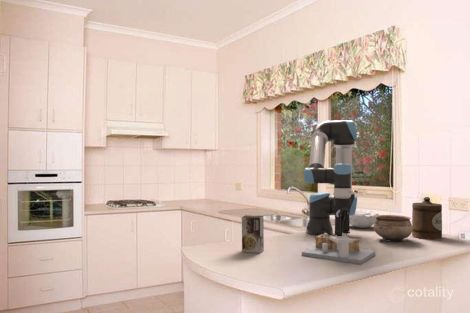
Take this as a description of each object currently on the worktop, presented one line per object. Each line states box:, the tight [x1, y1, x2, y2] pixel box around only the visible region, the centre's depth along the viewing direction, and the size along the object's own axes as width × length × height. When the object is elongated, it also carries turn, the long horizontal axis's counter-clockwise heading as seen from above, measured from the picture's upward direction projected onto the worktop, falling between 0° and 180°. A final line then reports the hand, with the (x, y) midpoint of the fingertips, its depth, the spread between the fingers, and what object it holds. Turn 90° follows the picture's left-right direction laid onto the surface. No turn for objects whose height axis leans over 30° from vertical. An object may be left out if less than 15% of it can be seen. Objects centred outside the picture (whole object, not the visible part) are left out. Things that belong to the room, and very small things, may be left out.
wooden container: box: [411, 196, 443, 240], centre depth 214 cm, size 15×15×22 cm
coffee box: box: [241, 214, 265, 254], centre depth 179 cm, size 9×6×16 cm
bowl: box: [350, 209, 380, 229], centre depth 244 cm, size 21×20×10 cm
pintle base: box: [301, 233, 376, 265], centre depth 171 cm, size 26×21×9 cm
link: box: [315, 234, 361, 252], centre depth 177 cm, size 18×7×5 cm, turn 55°
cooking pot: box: [373, 214, 413, 242], centre depth 204 cm, size 25×19×12 cm
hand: (342, 248), depth 176 cm, fingers open, 5 cm apart
